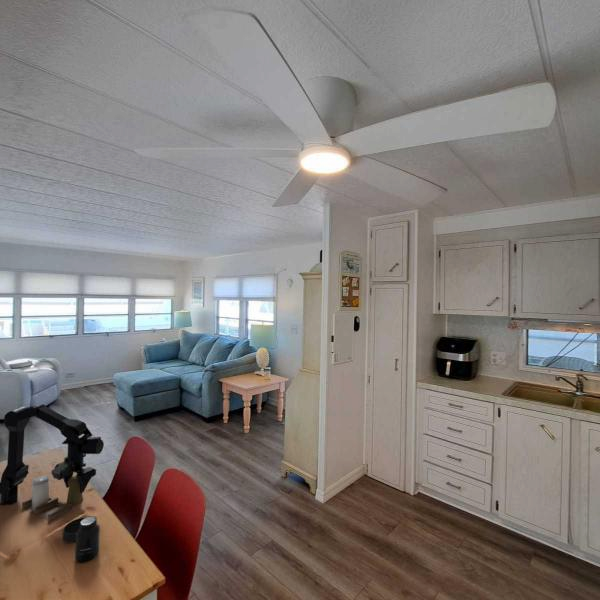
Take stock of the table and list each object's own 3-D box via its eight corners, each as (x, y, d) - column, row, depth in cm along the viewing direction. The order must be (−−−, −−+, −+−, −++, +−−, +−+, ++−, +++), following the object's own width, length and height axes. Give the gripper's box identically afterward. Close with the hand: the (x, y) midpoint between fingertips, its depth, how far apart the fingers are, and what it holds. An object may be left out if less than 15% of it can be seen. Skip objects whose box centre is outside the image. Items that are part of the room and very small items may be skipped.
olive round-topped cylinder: (74, 508, 136) (75, 481, 136) (62, 506, 137) (62, 480, 137) (86, 499, 142) (87, 474, 142) (74, 497, 143) (75, 472, 143)
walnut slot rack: (22, 510, 134) (22, 502, 134) (43, 499, 142) (44, 491, 142) (49, 523, 127) (50, 514, 127) (71, 511, 134) (71, 503, 134)
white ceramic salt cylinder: (28, 507, 135) (29, 481, 135) (43, 500, 140) (44, 474, 140) (36, 511, 132) (37, 484, 132) (51, 503, 138) (52, 477, 138)
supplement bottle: (81, 567, 107) (81, 530, 107) (71, 558, 110) (71, 522, 110) (103, 553, 113) (103, 518, 113) (92, 545, 116) (93, 511, 116)
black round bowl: (69, 547, 115) (69, 536, 115) (58, 537, 120) (58, 526, 120) (96, 533, 123) (96, 522, 123) (84, 523, 127) (85, 513, 127)
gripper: (41, 456, 136) (40, 494, 136) (69, 466, 129) (69, 506, 129) (69, 446, 146) (68, 481, 146) (97, 454, 139) (96, 491, 139)
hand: (74, 490), depth 140 cm, fingers open, 9 cm apart
